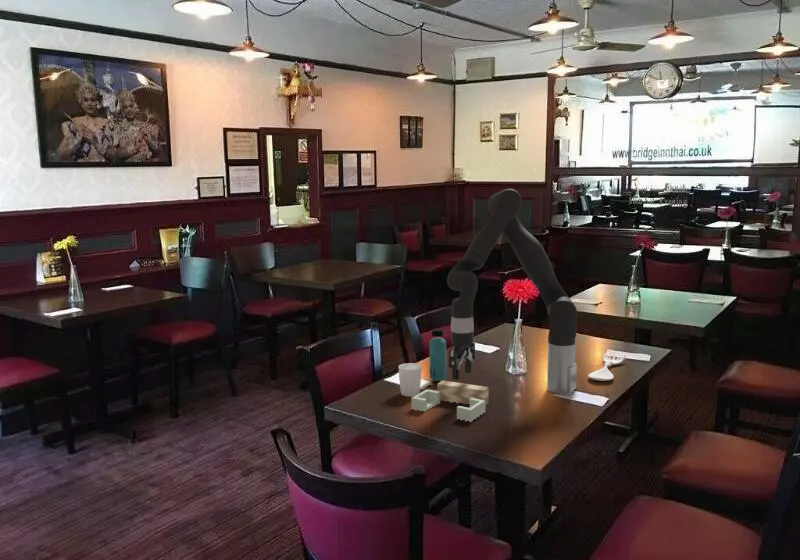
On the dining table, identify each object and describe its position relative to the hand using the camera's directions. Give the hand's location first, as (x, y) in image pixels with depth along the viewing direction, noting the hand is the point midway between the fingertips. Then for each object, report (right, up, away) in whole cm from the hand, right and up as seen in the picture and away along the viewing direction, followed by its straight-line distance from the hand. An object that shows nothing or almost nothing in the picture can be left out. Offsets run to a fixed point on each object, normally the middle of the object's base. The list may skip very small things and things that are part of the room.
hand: (462, 376), depth 224 cm
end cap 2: (+2, -11, -12) cm, 16 cm away
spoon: (+58, -3, +30) cm, 66 cm away
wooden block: (0, -9, +1) cm, 9 cm away
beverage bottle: (-7, -6, +23) cm, 24 cm away
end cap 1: (-12, -10, -2) cm, 16 cm away
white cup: (-17, -8, +11) cm, 22 cm away
